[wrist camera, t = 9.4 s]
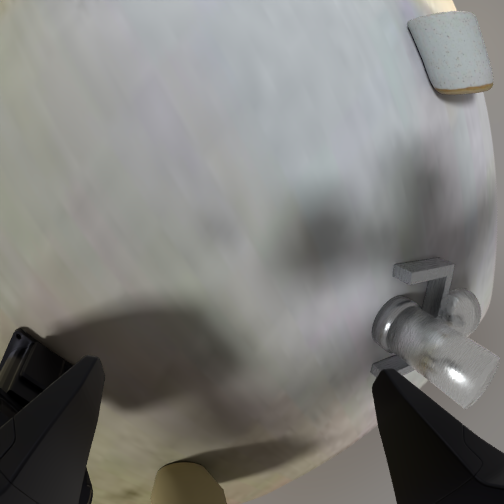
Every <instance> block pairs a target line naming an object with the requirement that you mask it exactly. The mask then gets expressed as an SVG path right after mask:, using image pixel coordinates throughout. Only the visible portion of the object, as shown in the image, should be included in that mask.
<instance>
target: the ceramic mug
mask: <svg viewBox="0 0 504 504" xmlns="http://www.w3.org/2000/svg"><path fill="white" fill-rule="evenodd" d="M407 25H408V27H409V29H410V32H411V34H412V36H413V38H414V41H415V43H416V45H417V48H418V50H419V52H420V55H421V57H422V60H423V62H424V65H425V68H426V71H427V73H428V76H429V79H430V81H431V83H432V85H433V87H434V88H435V90H436V91H438V92H439V93H441V94H447V95H458V94H471V93H479V92H484V91H488V90H490V89H491V88H492V86H493V73H492V68H491V65H490V61H489V58H488V54H487V51H486V47H485V44H484V41H483V37H482V34H481V31H480V28H479V25H478V22H477V19H476V16H475V15H474V13H472V12H467V11H450V12H442V13H436V14H431V15H426V16H422V17H418V18H415V19H413V20H410V21H409V22H408V23H407Z"/></svg>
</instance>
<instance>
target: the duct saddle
mask: <svg viewBox="0 0 504 504" xmlns="http://www.w3.org/2000/svg"><path fill="white" fill-rule="evenodd" d="M454 267H455V264H453V263H451V262H449V261H446V260H444V259H441V258H432V259H426V260H420V261H414V262H407V263H401V264H394V270H393V277H395V278H397V279H399V280H401V281H403V282H405V283H407V284H409V285H412V284H417V283H421V282H425V281H428V286H427V290H426V295H425V299H424V303H423V307H422V310H423V311H425V312H427V313H428V314H430V315H432V316H434V317H435V318H437V319H439V320H440V321H442V322H444V323H445V324H447V325H449V326H450V327H452V328H454V329H455V330H457V331H458V332H460V333H462V334H463V335H465V336H468V335H469V334H471V333H472V332H474V331H475V329H476V328H477V326H478V325H479V322H480V317H481V309H480V304H479V302H478V299H477V298H476V296H475V295H474V294H473V293H472V292H471V291H469V290H467V289H464V288H459V289H456V290H453V291H449V289H450V285H451V281H452V276H453V272H454ZM387 368H393V369H395V370H396V371H397V372H399V373H400V374H401V375H402V376H403V375H405V374H407V373H409V372H411V371H413V370H415V369H414V368H412V367H411V366H410V365H409V364H407V363H406V362H405V361H404V360H402V359H401V358H400V357H398V356H397V355H395V356H392V357H390V358H387V359H385V360H382V361H379V362H377V363H374V364H373V365H372V369H371V373H372V374H373V375H374V376H375V377H376V378H377V376H378V375H379V373H380V371H381V370H382V369H387Z"/></svg>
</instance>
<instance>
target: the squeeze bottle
mask: <svg viewBox="0 0 504 504" xmlns="http://www.w3.org/2000/svg"><path fill="white" fill-rule="evenodd" d="M150 499H151V503H152V504H227V503H226V498H225V494H224V490H223V489H222V488H221V486H220V485H219V484H218V483H217V482H216V481H215V479H214V478H213V477H212V476H211V475H210V473H209V472H208V471H207V470H206V469H205V468H204V467H203V466H202V465H199V464H196V463H188V462H181V463H173V464H170V465H167V466H164V467H163V468H161V469H160V470H158V472H157V475H156V478H155V482H154V486H153V490H152V494H151V498H150Z"/></svg>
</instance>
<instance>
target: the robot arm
mask: <svg viewBox="0 0 504 504" xmlns="http://www.w3.org/2000/svg"><path fill="white" fill-rule="evenodd" d="M18 334H20V335H21V337H20V336H19V335H18ZM104 381H105V375H104V371H103V368H102V365H101V361H100V359H99V358H98V357H96V356H90V355H87V356H85V357H83V358H82V359H81V360H80V361H79V362H77V363H76V364H75V365H74V366H73V365H72V364H70V363H69V362H67V361H65V360H64V359H62V358H61V357H59V356H58V355H56V354H55V353H53V352H52V351H51V350H49V349H48V348H46V347H45V346H43V345H42V344H41V343H39V342H38V341H36V340H35V339H34V338H32V337H31V336H30V335H28V334H27V333H26V332H24V331H23V330H22V329H19V328H18V329H16V330H15V332H14V334H13V336H12V338H11V340H10V342H9V345H8V347H7V349H6V351H5V354H4V356H3V359H2V361H1V363H0V504H91V502H92V497H93V489H92V484H91V481H90V478H89V475H88V471H87V468H86V465H87V460H88V456H89V452H90V448H91V444H92V441H93V437H94V433H95V429H96V426H97V422H98V416H99V410H100V404H101V398H102V392H103V387H104ZM372 393H373V398H374V404H375V410H376V416H377V422H378V428H379V432H380V435H381V439H382V443H383V447H384V451H385V454H386V458H387V462H388V466H389V470H390V475H391V479H392V483H393V488H394V492H395V496H396V501H397V504H504V453H503V452H501V451H499V450H498V449H496V448H495V447H493V446H492V445H490V444H488V443H487V442H486V441H484V440H483V439H481V438H480V437H478V436H477V435H476V434H474V433H473V432H472V431H471V430H469V429H468V428H467V427H466V426H464V425H462V423H461V422H459V421H458V420H457V419H455V418H454V417H453V416H452V415H451V414H449V413H448V412H447V411H446V410H444V409H443V408H442V407H441V406H439V405H438V404H437V403H436V402H434V401H433V400H432V399H431V398H430V397H428V396H427V395H426V394H425V393H423V392H422V391H421V390H420V389H418V388H417V387H416V386H415V385H413V384H412V383H411V382H410V381H408V380H407V379H406V378H405V377H403V376H402V375H401V374H400V373H399V372H397V371H396V370H395V369H393V368H387V369H382V370H381V371H380V373H379V375H378V376H377V378H376V380H375V382H374V383H373V386H372Z"/></svg>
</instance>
